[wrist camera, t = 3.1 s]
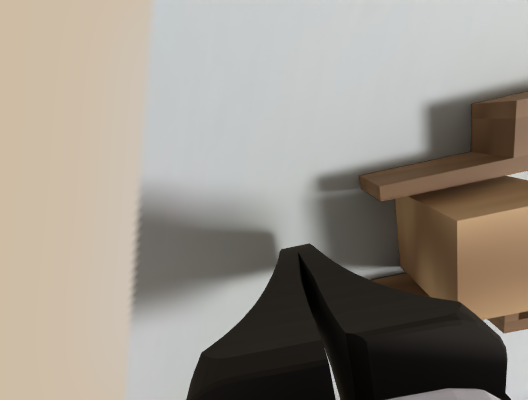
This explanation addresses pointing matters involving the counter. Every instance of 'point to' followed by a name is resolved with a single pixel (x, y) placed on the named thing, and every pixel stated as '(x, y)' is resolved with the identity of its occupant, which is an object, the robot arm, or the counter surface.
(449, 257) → the oak block
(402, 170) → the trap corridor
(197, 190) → the counter surface
